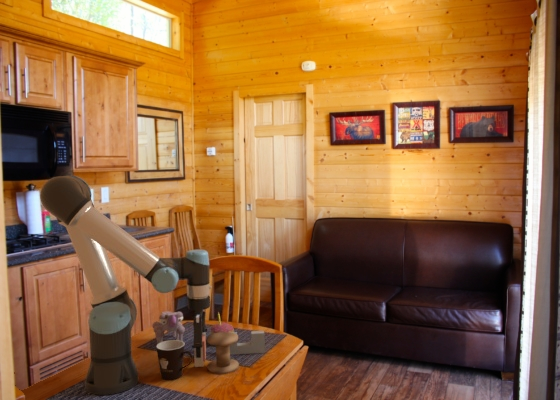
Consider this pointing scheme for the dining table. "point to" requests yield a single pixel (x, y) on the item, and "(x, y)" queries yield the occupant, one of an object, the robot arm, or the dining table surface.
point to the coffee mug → (171, 359)
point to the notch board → (250, 344)
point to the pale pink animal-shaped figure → (169, 325)
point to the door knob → (222, 353)
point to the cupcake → (221, 327)
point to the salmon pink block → (203, 348)
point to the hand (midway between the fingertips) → (200, 358)
